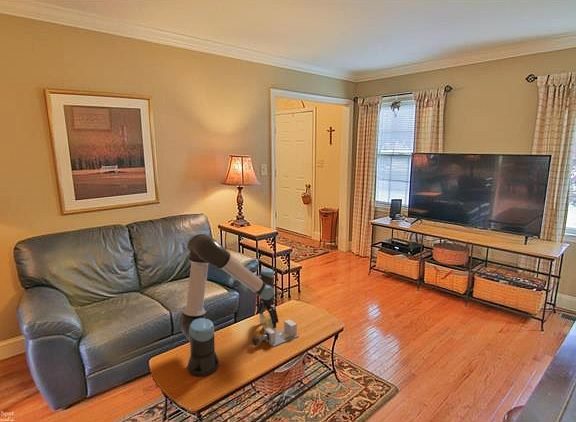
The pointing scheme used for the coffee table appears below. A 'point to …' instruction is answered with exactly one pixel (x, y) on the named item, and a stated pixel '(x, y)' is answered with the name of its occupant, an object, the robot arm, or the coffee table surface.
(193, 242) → the robot arm
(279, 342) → the grey bench vise
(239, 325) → the coffee table surface
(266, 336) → the shaft
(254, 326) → the coffee table surface
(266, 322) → the spacer
